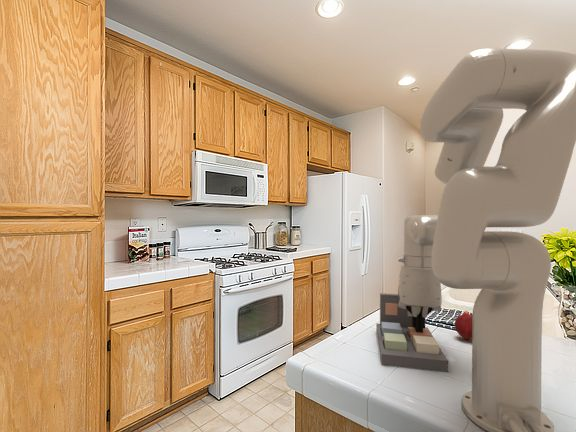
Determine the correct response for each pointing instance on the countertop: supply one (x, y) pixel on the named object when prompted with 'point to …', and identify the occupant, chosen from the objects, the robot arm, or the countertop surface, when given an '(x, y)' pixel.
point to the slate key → (391, 328)
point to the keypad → (409, 357)
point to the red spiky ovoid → (464, 325)
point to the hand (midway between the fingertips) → (418, 330)
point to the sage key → (395, 342)
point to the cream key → (425, 344)
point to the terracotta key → (413, 332)
